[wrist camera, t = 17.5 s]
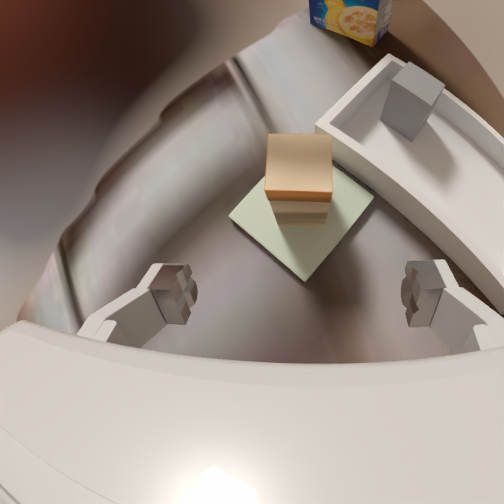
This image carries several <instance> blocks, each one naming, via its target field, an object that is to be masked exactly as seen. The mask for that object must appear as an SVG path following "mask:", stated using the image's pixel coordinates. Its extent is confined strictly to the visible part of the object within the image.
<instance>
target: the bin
mask: <svg viewBox="0 0 504 504" xmlns="http://www.w3.org/2000/svg"><path fill="white" fill-rule="evenodd" d="M405 65H406V63H405V62H403V61H401V60H400V59H398V58H396V57H394V56H393V55H391V54H389V53H388V54H387V55H386V56H385V57H384V58H383V59H382V60H381V61H379V62H378V63H377V64H376V65H375V66H374V67H373V68H372V69H371V70H370V71H369V72H368V73H367V74H366V75H365V76H363V77H362V78H361V79H360V80H359V81H358V82H357V83H356V84H355V85H354V86H353V87H352V88H351V89H350V90H349V91H348V92H347V93H346V94H345V95H344V96H343V97H342V98H341V99H340V100H339V101H338V102H337V103H336V104H335V105H334V106H332V107H331V108H330V109H329V110H328V111H327V112H326V113H325V114H324V115H323V116H322V117H321V118H320V119H319V120H318V121H317V122H316V123H315V134H317V135H331V145H332V160H334V161H335V162H336V163H338V164H339V165H340V166H342V167H343V168H345V169H346V170H347V171H349V172H350V173H351V174H353V175H354V176H355V177H357V178H358V179H359V180H361V181H362V182H363V183H365V184H366V185H367V186H368V187H370V188H371V189H372V190H374V191H375V192H376V193H377V194H379V195H380V196H381V197H382V198H383V199H385V200H386V201H387V202H388V203H390V204H391V205H392V206H393V207H394V208H396V209H397V210H398V211H399V212H400V213H401V214H403V215H404V216H405V217H406V218H407V219H408V220H409V221H411V222H412V223H413V224H414V225H415V226H416V227H417V228H418V229H420V230H421V231H422V232H423V233H424V234H425V235H426V236H427V237H428V238H429V239H430V240H431V241H433V242H434V243H435V244H436V245H437V246H438V247H439V248H440V249H441V250H442V251H443V252H444V253H445V254H446V255H447V256H448V257H449V258H450V259H451V260H452V261H453V262H454V263H455V264H456V265H457V266H458V267H459V268H460V269H461V270H462V271H463V272H464V273H465V274H466V275H467V276H468V278H469V279H470V280H471V281H472V282H473V283H474V284H475V285H476V286H477V287H478V288H479V290H480V291H481V292H482V293H483V294H484V295H485V296H486V298H487V299H488V300H489V301H490V302H491V303H492V304H493V306H494V307H495V308H496V309H497V310H498V312H499V313H500V314H501V315H504V138H503V137H502V136H501V135H500V134H499V133H497V132H496V131H495V130H494V129H493V128H492V127H491V126H490V125H489V124H488V123H487V122H486V121H484V120H483V119H482V118H481V117H480V116H479V115H478V114H476V113H475V112H474V111H473V110H472V109H470V108H469V107H468V106H467V105H465V104H464V103H463V102H462V101H460V100H459V99H458V98H457V97H455V96H454V95H453V94H451V93H450V92H449V91H447V90H446V89H443V91H442V93H441V95H440V97H439V99H438V101H437V103H436V105H435V107H434V109H433V111H432V112H431V114H430V116H429V118H428V120H427V122H426V123H425V125H424V126H423V127H422V129H421V130H420V132H419V133H418V135H417V136H416V137H415V139H414V140H413V142H410V141H409V140H408V139H406V138H405V137H404V136H402V135H401V134H399V133H398V132H397V131H395V130H394V129H392V128H391V127H390V126H388V125H387V124H385V123H384V122H382V121H381V120H380V117H381V114H382V111H383V108H384V104H385V101H386V98H387V95H388V91H389V88H390V84H391V81H392V79H393V78H394V77H395V76H396V75H397V74H398V73H399V72H400V71H401V69H402V68H403V67H404V66H405Z"/></svg>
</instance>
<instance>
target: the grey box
mask: <svg viewBox="0 0 504 504" xmlns="http://www.w3.org/2000/svg"><path fill="white" fill-rule="evenodd" d="M444 87H445V84H443V83H442V82H440V81H439V80H437V79H436V78H435V77H433V76H432V75H430V74H429V73H427V72H426V71H424V70H422V69H421V68H419V67H418V66H416V65H414V64H413V63H411V62H408V63H407V64H406V65H405V66H404V67H403V68H402V69H401V71H400V72H399V73H398V74H397V75H396V76H395V77H394V78H393V79H392V81H391V84H390V88H389V91H388V95H387V98H386V101H385V104H384V108H383V111H382V114H381V117H380V120H381V121H382V122H384V123H385V124H387V125H388V126H390V127H391V128H392V129H394V130H395V131H397V132H398V133H399V134H401V135H402V136H404V137H405V138H406V139H408V140H409V141H410V142H413V140H414V139H415V137H416V136H417V135H418V133H419V132H420V130H421V129H422V127H423V126H424V125H425V123H426V122H427V120H428V118H429V116H430V114H431V112H432V111H433V109H434V107H435V105H436V103H437V101H438V99H439V97H440V95H441V93H442V91H443V89H444Z"/></svg>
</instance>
